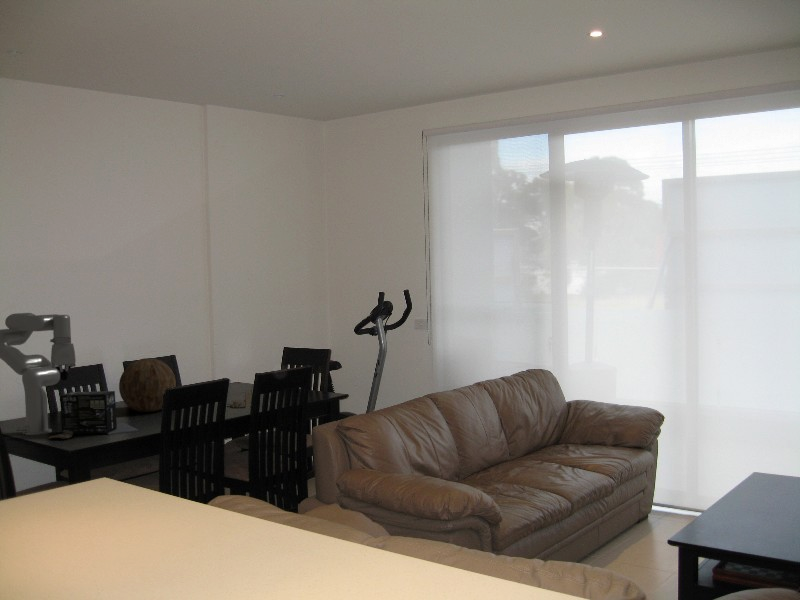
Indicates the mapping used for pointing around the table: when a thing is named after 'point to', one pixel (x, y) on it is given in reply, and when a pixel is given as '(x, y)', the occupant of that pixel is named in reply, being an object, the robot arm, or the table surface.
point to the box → (88, 412)
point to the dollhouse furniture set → (247, 401)
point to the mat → (123, 429)
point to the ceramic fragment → (63, 435)
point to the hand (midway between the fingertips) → (64, 379)
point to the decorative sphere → (146, 384)
